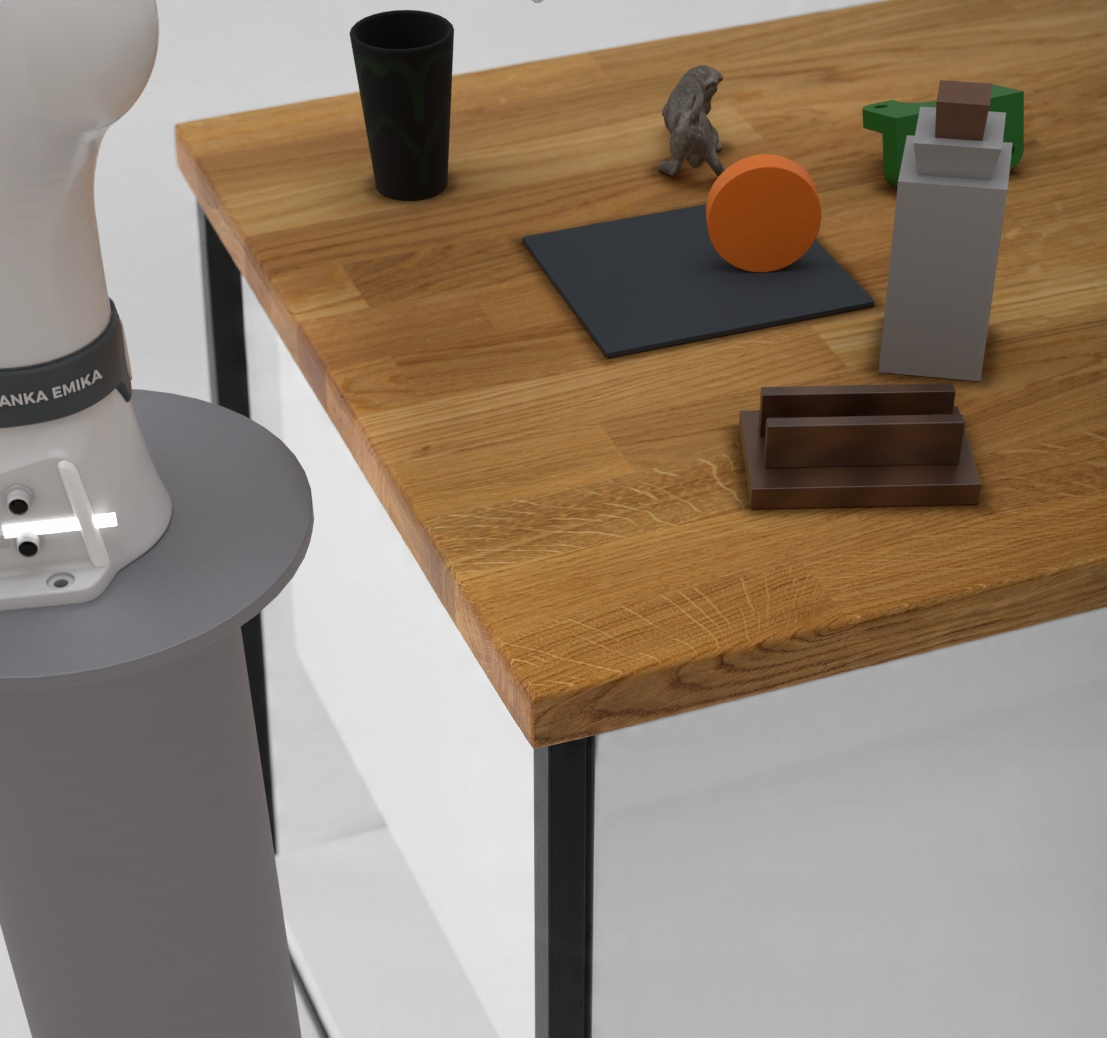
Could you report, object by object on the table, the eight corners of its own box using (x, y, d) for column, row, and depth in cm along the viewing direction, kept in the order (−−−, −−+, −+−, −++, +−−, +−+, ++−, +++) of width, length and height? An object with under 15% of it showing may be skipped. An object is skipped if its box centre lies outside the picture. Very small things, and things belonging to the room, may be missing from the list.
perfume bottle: (986, 331, 142) (1022, 74, 129) (980, 381, 137) (1017, 119, 125) (887, 322, 143) (914, 66, 131) (878, 372, 138) (905, 111, 126)
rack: (750, 509, 126) (754, 446, 123) (738, 430, 133) (741, 368, 130) (978, 504, 126) (988, 441, 123) (955, 425, 133) (963, 364, 130)
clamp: (960, 203, 165) (997, 86, 162) (1002, 216, 160) (1041, 96, 157) (837, 169, 160) (873, 48, 157) (876, 181, 155) (914, 57, 152)
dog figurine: (733, 194, 157) (737, 100, 152) (657, 194, 158) (659, 100, 153) (729, 127, 166) (733, 35, 161) (658, 126, 166) (660, 35, 161)
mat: (607, 358, 140) (607, 353, 140) (522, 241, 152) (522, 236, 152) (874, 306, 144) (874, 301, 144) (770, 197, 157) (771, 192, 157)
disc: (690, 193, 143) (799, 148, 141) (688, 181, 145) (796, 135, 143) (731, 289, 148) (836, 246, 146) (729, 275, 150) (833, 233, 148)
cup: (477, 172, 161) (471, 18, 153) (433, 213, 156) (425, 57, 148) (390, 155, 163) (379, 3, 155) (344, 196, 158) (330, 41, 150)
